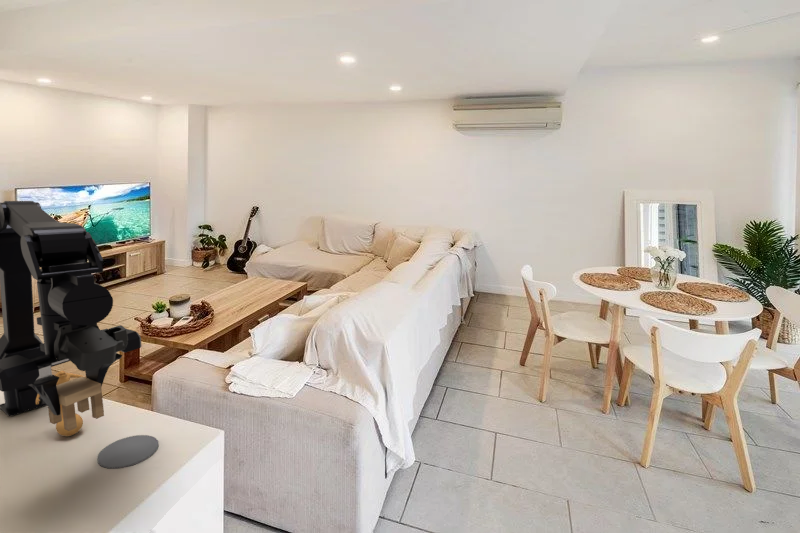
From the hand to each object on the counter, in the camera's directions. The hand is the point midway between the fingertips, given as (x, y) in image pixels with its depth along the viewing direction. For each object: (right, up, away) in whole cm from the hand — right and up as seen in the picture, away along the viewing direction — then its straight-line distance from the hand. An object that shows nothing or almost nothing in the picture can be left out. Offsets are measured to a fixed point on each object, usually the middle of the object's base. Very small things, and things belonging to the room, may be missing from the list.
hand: (76, 406), depth 66 cm
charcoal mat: (+3, -11, +8) cm, 14 cm away
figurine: (-12, -9, +14) cm, 20 cm away
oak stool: (0, -2, 0) cm, 2 cm away
